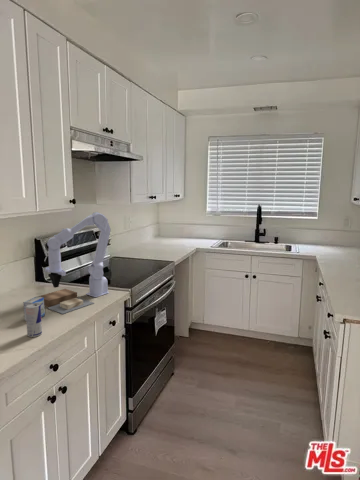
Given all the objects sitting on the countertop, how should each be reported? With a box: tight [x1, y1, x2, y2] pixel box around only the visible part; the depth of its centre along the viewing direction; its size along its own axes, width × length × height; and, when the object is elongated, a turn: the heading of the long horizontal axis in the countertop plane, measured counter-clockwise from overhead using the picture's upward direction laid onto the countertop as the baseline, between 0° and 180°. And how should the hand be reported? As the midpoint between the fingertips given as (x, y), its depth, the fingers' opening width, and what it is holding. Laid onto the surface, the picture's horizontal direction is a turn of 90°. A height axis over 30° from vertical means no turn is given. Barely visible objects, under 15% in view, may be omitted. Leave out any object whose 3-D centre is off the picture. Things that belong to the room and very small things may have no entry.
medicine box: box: [22, 296, 46, 322], centre depth 146 cm, size 8×4×9 cm, turn 164°
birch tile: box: [60, 297, 83, 309], centre depth 161 cm, size 9×6×2 cm, turn 144°
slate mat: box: [47, 297, 95, 315], centre depth 161 cm, size 18×12×1 cm, turn 144°
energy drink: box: [25, 303, 43, 338], centre depth 129 cm, size 5×5×12 cm
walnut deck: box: [36, 288, 78, 308], centre depth 168 cm, size 16×10×4 cm, turn 144°
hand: (56, 287), depth 169 cm, fingers closed
